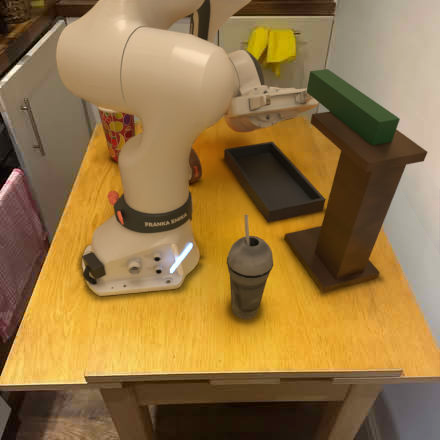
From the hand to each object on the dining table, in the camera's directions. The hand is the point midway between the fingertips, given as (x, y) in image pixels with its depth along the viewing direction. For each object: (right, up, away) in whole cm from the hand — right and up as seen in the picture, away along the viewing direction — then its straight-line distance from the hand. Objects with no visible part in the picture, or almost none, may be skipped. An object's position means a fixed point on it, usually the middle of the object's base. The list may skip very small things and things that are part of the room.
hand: (288, 97), depth 81 cm
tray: (-2, -12, +18) cm, 22 cm away
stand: (+8, -32, +1) cm, 33 cm away
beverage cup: (-9, -42, -9) cm, 44 cm away
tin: (-23, -9, +20) cm, 32 cm away
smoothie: (-39, -4, +25) cm, 46 cm away
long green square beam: (+7, -10, -15) cm, 19 cm away
